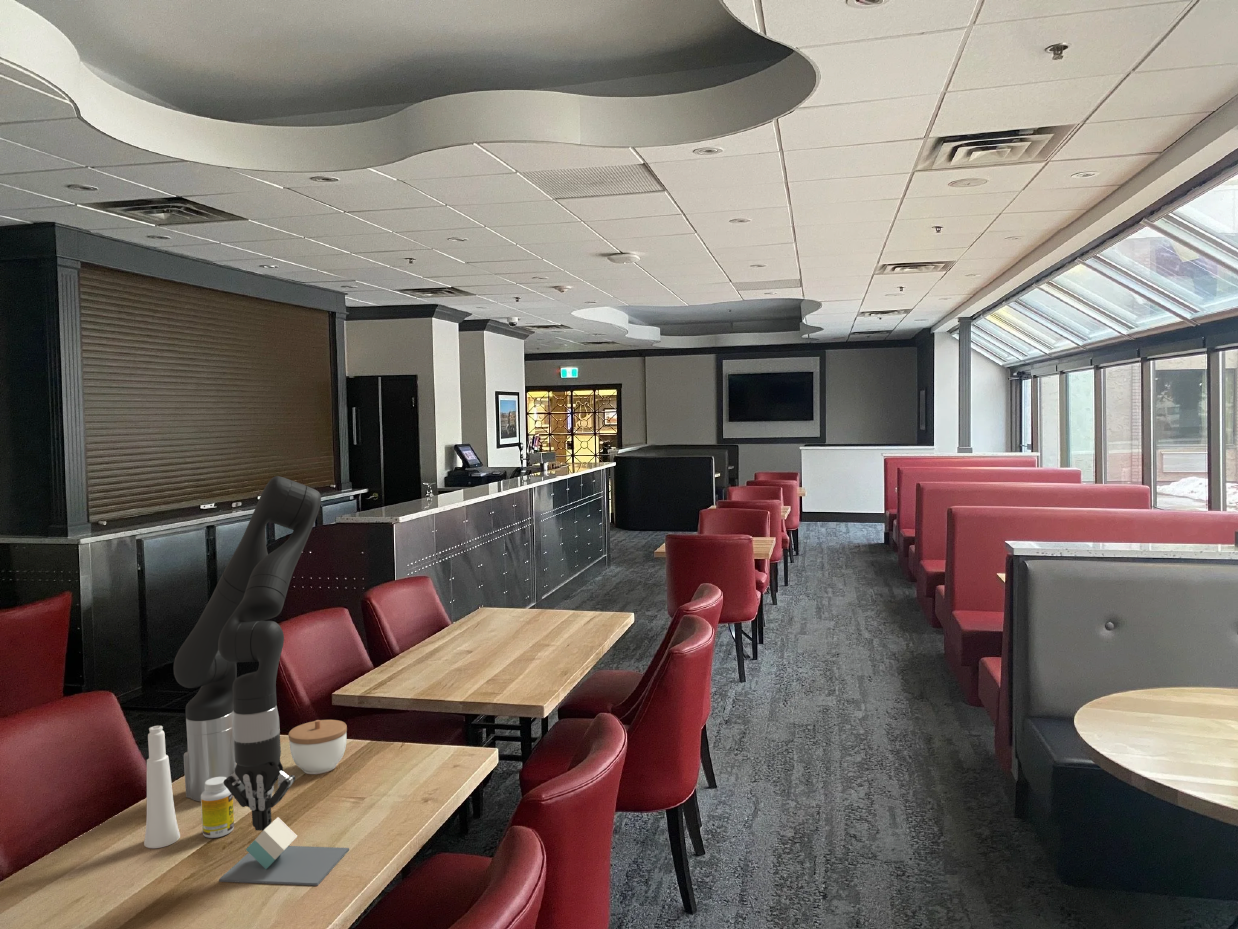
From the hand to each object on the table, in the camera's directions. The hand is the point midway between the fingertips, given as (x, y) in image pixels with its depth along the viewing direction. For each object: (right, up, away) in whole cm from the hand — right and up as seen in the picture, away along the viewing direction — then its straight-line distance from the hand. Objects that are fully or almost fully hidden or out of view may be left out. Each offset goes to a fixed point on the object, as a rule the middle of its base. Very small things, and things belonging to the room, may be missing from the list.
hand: (262, 828), depth 150 cm
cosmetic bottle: (-24, -7, +10) cm, 27 cm away
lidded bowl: (-5, -5, +43) cm, 44 cm away
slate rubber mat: (+4, -6, 0) cm, 8 cm away
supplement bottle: (-14, -7, +13) cm, 20 cm away
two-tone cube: (0, -4, 0) cm, 4 cm away
